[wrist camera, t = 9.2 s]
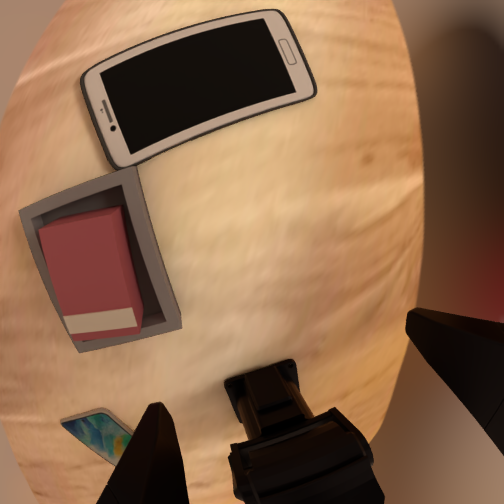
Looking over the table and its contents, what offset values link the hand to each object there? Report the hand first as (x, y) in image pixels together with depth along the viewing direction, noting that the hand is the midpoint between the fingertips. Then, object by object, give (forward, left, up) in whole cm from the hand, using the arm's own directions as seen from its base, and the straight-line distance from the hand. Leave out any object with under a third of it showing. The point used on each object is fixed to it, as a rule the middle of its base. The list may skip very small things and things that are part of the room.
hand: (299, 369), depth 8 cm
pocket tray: (+2, +9, -12) cm, 15 cm away
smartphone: (-19, +17, -13) cm, 28 cm away
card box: (+2, +8, -11) cm, 14 cm away
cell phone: (+12, -1, -13) cm, 17 cm away
